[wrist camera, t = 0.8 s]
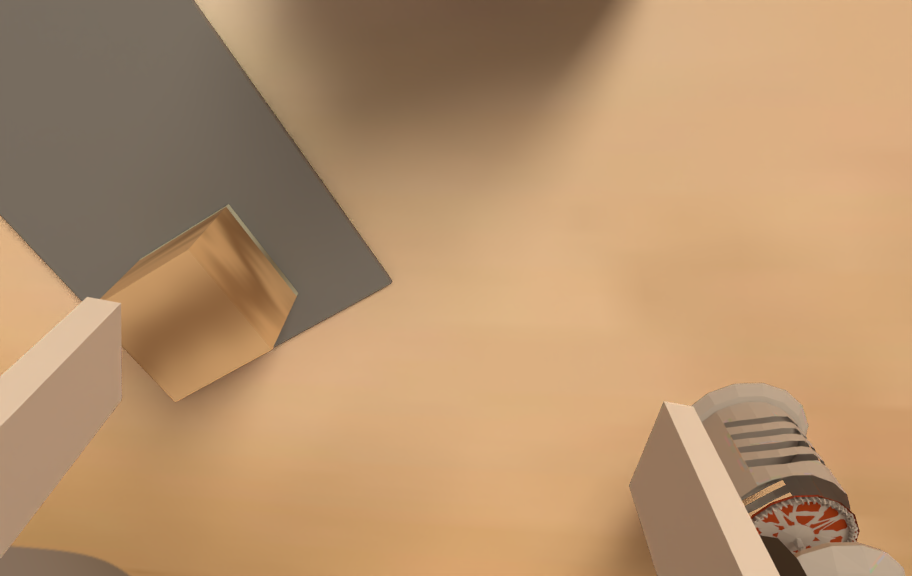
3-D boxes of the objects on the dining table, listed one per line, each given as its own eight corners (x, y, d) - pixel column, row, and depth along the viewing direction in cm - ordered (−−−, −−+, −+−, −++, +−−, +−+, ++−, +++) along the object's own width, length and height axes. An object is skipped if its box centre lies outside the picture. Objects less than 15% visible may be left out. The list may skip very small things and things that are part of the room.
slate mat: (-132, 68, 38) (-137, 69, 38) (106, -123, 34) (103, -124, 34) (178, 397, 48) (176, 400, 48) (392, 280, 44) (391, 283, 44)
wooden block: (141, 257, 43) (88, 310, 37) (229, 203, 41) (188, 249, 35) (214, 339, 46) (175, 402, 39) (298, 292, 44) (272, 349, 38)
